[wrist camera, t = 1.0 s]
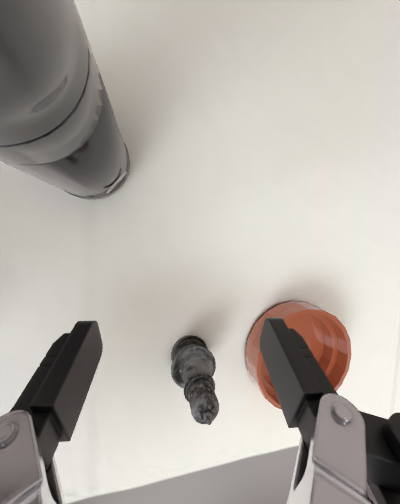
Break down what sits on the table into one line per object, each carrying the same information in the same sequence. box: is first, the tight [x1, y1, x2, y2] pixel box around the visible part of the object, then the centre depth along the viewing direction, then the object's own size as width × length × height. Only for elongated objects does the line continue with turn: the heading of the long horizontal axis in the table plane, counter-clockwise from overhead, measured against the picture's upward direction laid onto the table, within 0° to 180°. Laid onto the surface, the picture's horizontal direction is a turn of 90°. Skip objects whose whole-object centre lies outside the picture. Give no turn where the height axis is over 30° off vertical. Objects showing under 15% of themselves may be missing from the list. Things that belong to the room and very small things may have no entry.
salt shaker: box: [171, 336, 219, 425], centre depth 26 cm, size 6×6×12 cm
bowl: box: [245, 301, 351, 409], centre depth 33 cm, size 15×15×4 cm
